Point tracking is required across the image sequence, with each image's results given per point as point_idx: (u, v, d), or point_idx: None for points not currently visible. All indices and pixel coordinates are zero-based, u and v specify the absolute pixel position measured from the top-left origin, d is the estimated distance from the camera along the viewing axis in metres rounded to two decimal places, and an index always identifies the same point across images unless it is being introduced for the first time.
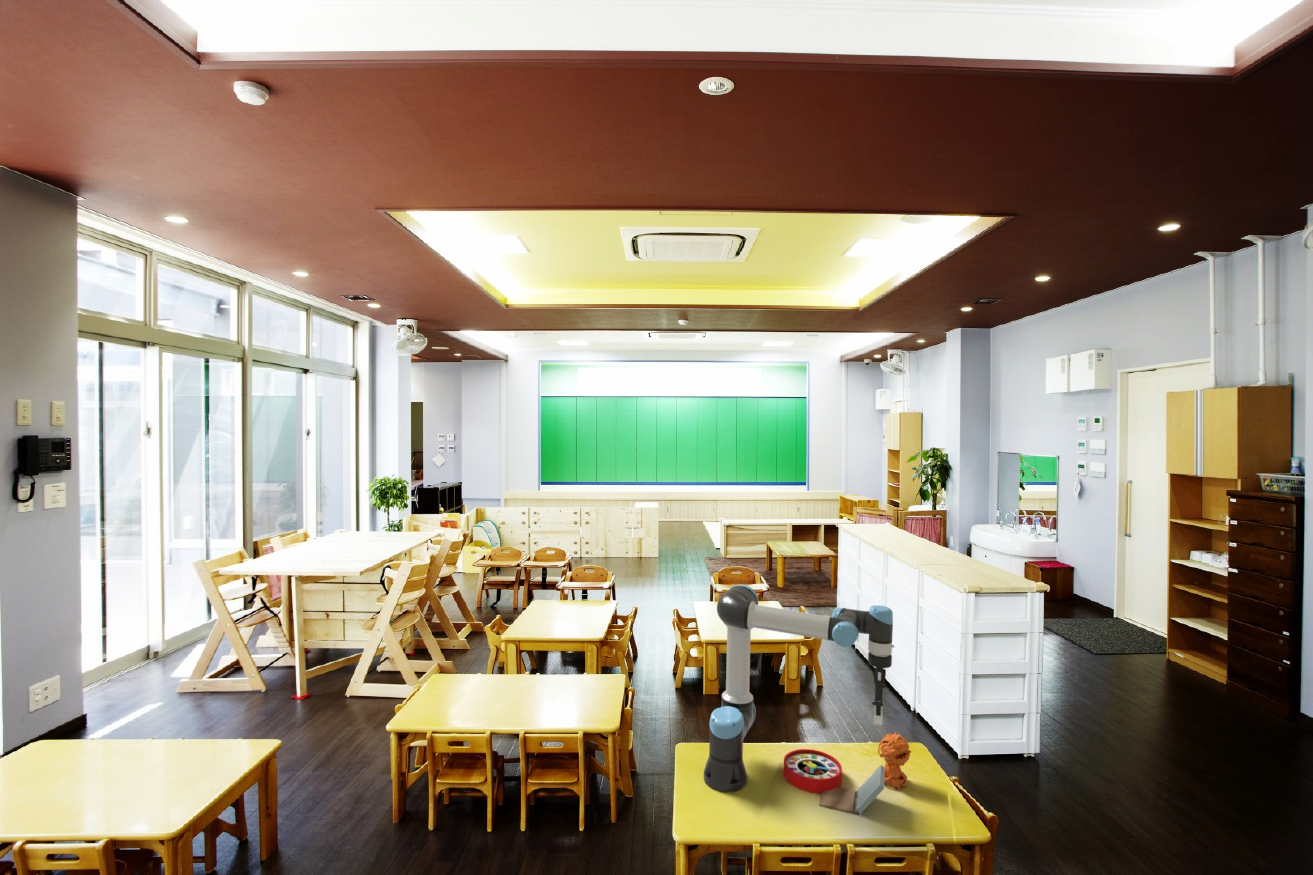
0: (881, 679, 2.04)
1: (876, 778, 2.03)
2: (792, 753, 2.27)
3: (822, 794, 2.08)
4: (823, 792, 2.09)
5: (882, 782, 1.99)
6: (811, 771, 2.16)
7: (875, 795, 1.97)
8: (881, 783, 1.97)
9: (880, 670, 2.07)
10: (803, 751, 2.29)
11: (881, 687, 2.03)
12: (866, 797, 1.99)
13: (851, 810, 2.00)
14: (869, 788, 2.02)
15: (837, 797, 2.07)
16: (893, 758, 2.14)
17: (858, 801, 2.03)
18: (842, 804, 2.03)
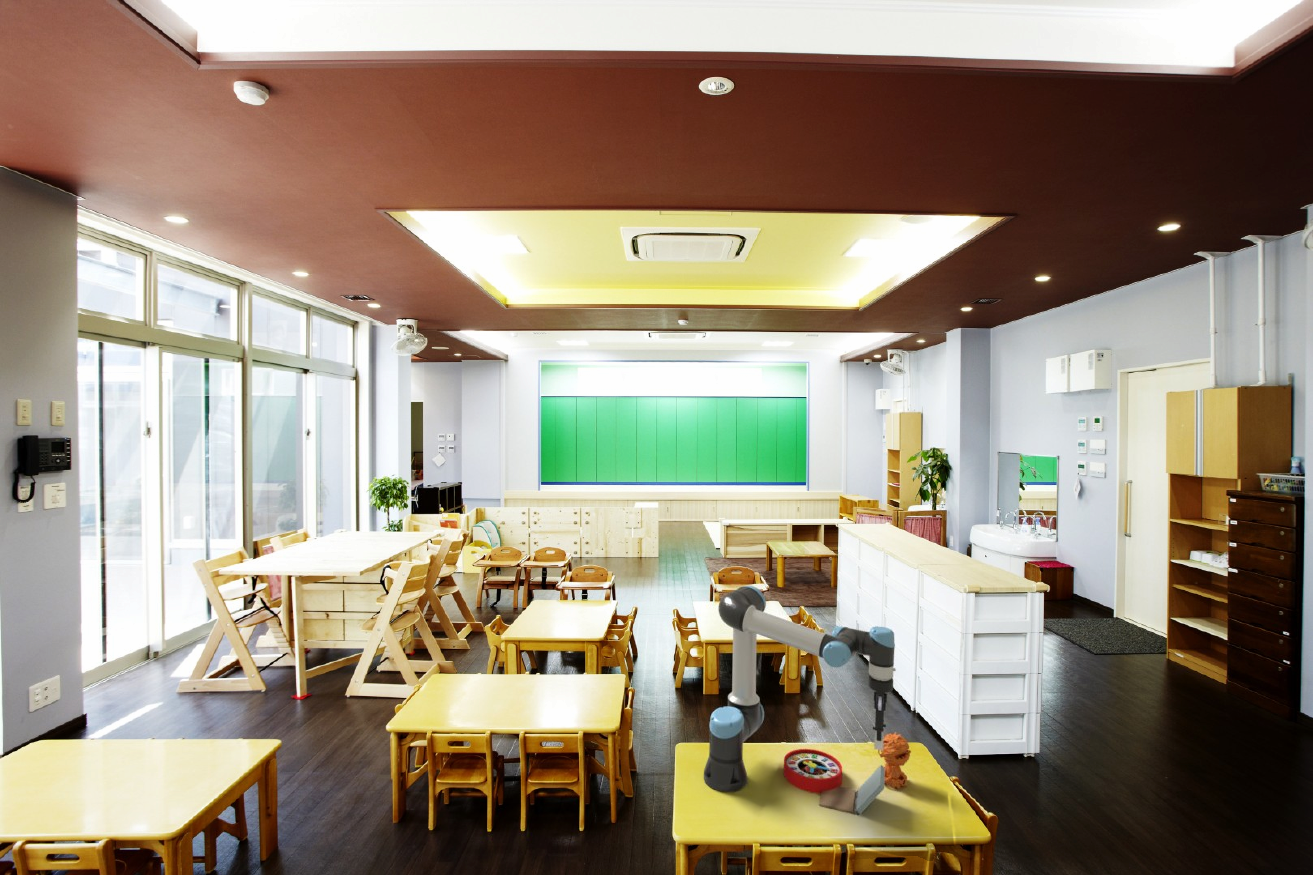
0: (881, 710, 1.96)
1: (876, 778, 2.03)
2: (792, 753, 2.27)
3: (822, 794, 2.08)
4: (823, 792, 2.09)
5: (882, 782, 1.99)
6: (811, 771, 2.17)
7: (875, 795, 1.97)
8: (881, 783, 1.97)
9: (881, 695, 1.98)
10: (803, 751, 2.29)
11: (881, 716, 1.97)
12: (866, 797, 1.99)
13: (851, 810, 2.00)
14: (869, 788, 2.02)
15: (837, 797, 2.07)
16: (893, 758, 2.14)
17: (858, 801, 2.03)
18: (842, 804, 2.03)
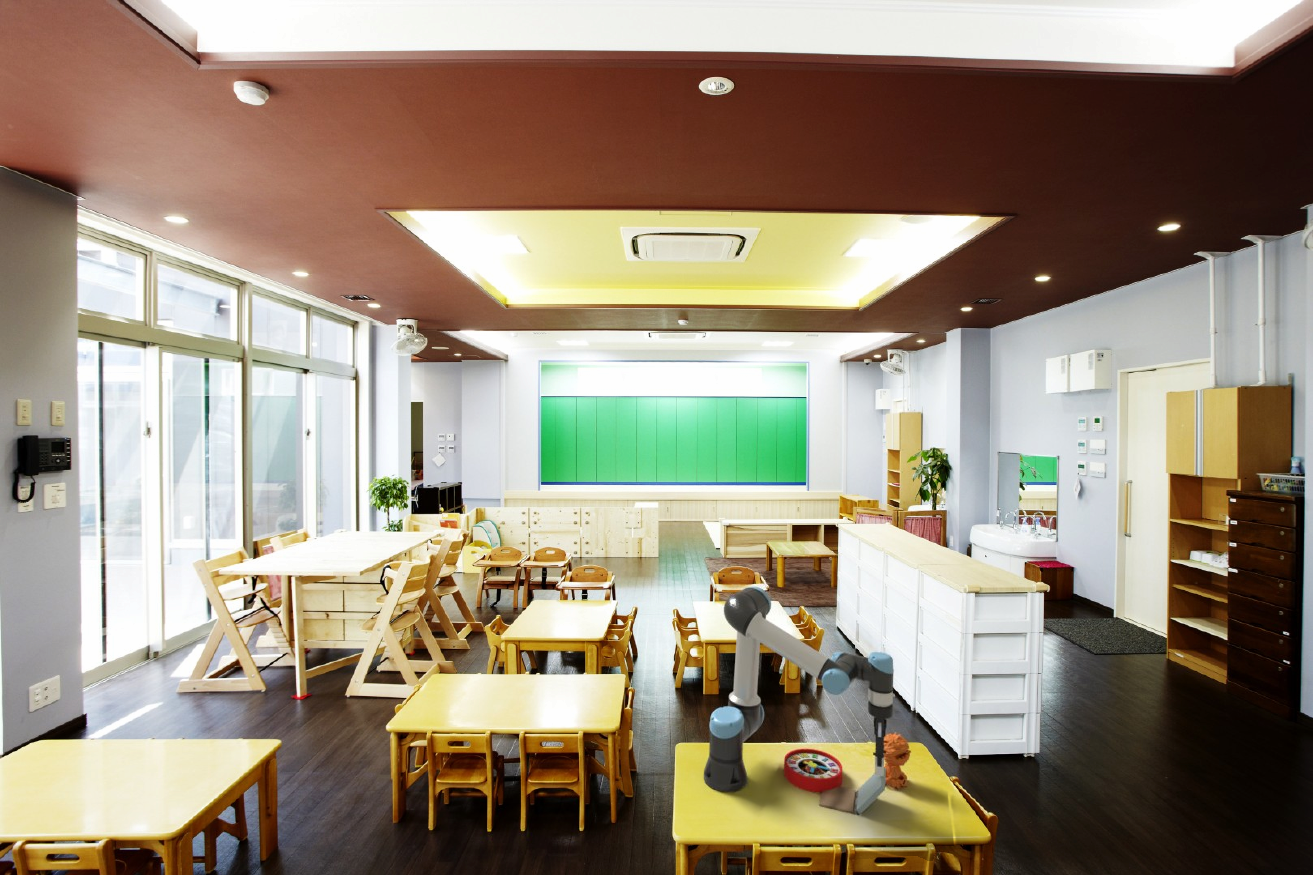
0: (881, 737, 1.97)
1: (877, 779, 2.03)
2: (792, 753, 2.28)
3: (822, 794, 2.08)
4: (823, 792, 2.09)
5: (883, 782, 1.99)
6: (811, 770, 2.17)
7: (876, 796, 1.97)
8: (882, 784, 1.97)
9: (880, 721, 1.98)
10: (804, 751, 2.29)
11: (882, 743, 1.97)
12: (867, 797, 1.99)
13: (851, 810, 2.00)
14: (870, 788, 2.02)
15: (837, 797, 2.07)
16: (893, 758, 2.14)
17: (858, 801, 2.03)
18: (842, 804, 2.03)
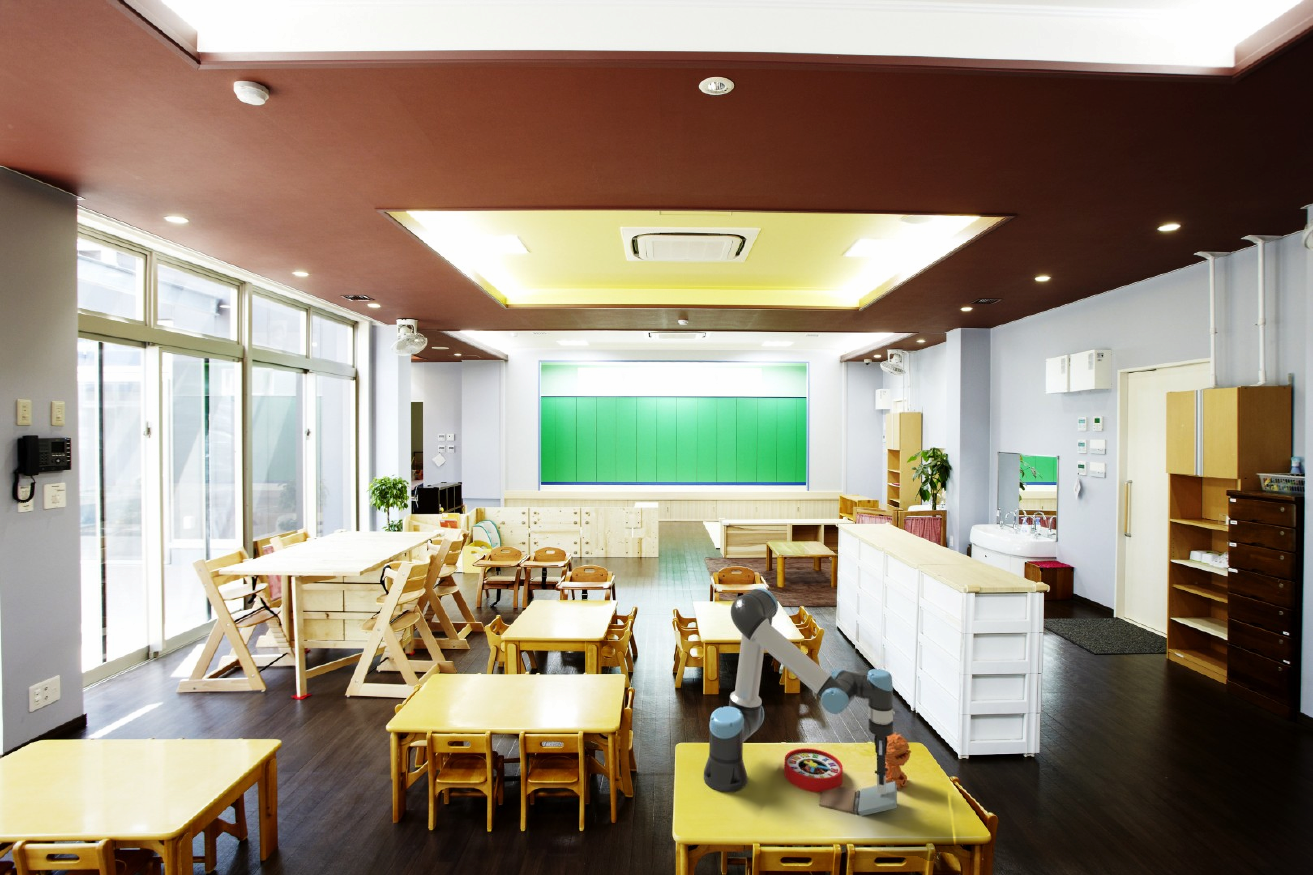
0: (882, 755, 1.96)
1: (888, 792, 2.02)
2: (793, 753, 2.28)
3: (822, 794, 2.08)
4: (823, 792, 2.09)
5: (895, 800, 1.97)
6: (812, 770, 2.17)
7: (884, 808, 1.96)
8: (895, 801, 1.96)
9: (881, 739, 1.98)
10: (804, 750, 2.30)
11: (883, 761, 1.97)
12: (873, 805, 1.98)
13: (851, 810, 2.00)
14: (877, 797, 2.01)
15: (837, 797, 2.07)
16: (893, 758, 2.14)
17: (861, 803, 2.02)
18: (842, 804, 2.03)
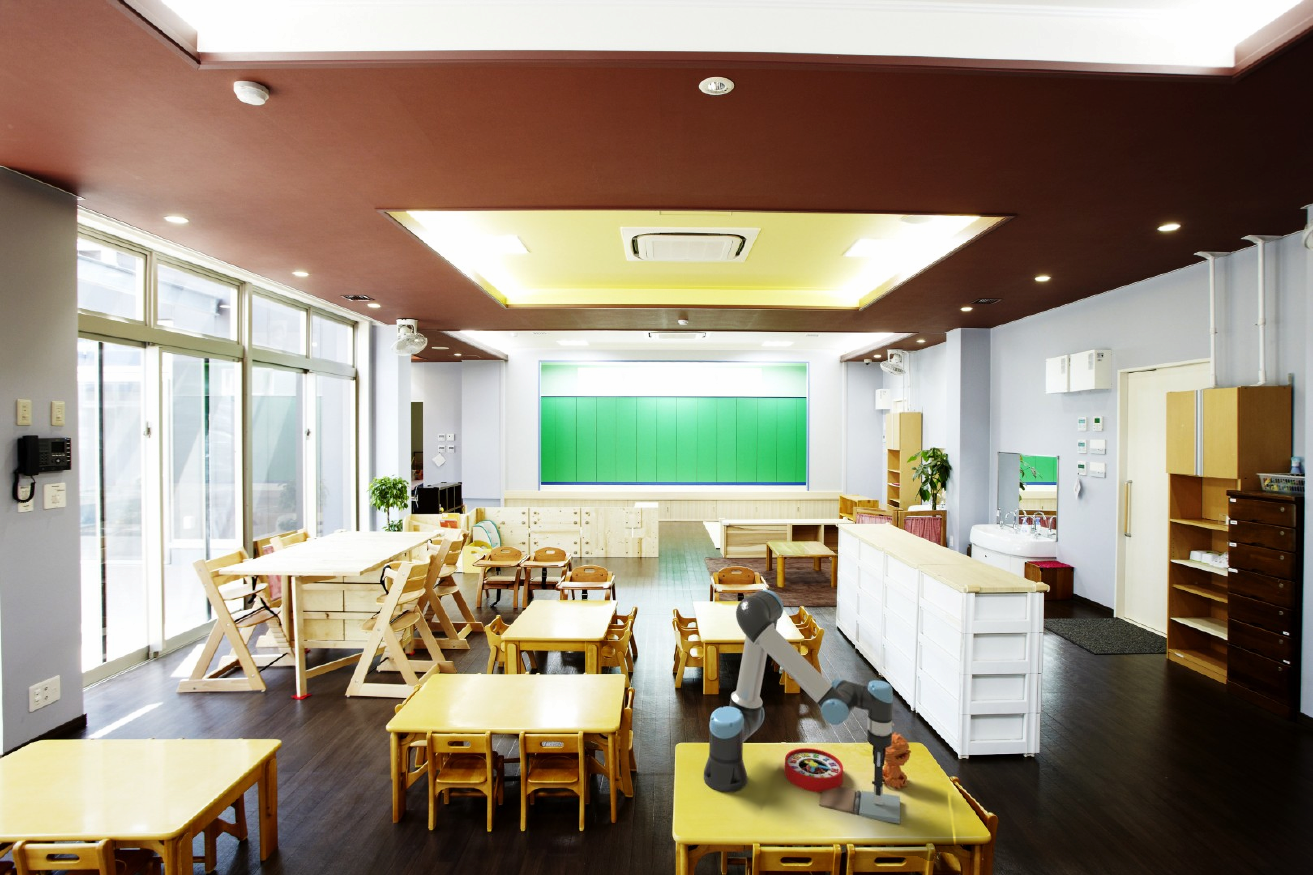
0: (880, 766, 1.97)
1: (892, 805, 2.01)
2: (793, 752, 2.28)
3: (822, 794, 2.08)
4: (823, 792, 2.09)
5: (899, 815, 1.97)
6: (812, 770, 2.17)
7: (887, 820, 1.96)
8: (899, 817, 1.96)
9: (879, 750, 1.99)
10: (805, 750, 2.30)
11: (880, 772, 1.98)
12: (876, 812, 1.98)
13: (851, 810, 2.00)
14: (880, 806, 2.01)
15: (837, 797, 2.07)
16: (893, 758, 2.14)
17: (862, 805, 2.02)
18: (842, 804, 2.03)
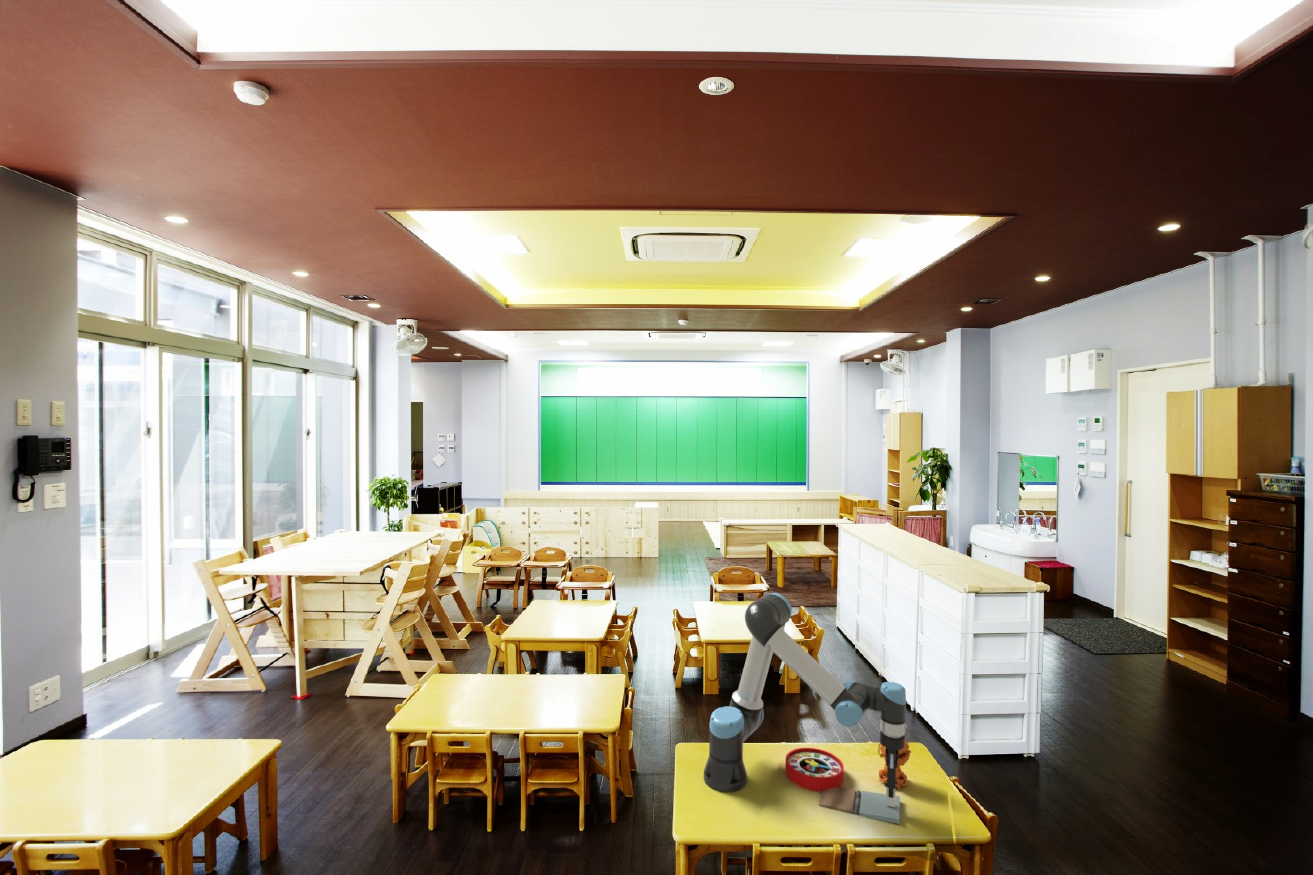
0: (893, 768, 1.95)
1: None
2: (794, 752, 2.29)
3: (822, 794, 2.08)
4: (823, 792, 2.09)
5: (899, 815, 1.97)
6: (812, 769, 2.17)
7: (887, 820, 1.96)
8: (899, 817, 1.96)
9: (892, 752, 1.97)
10: (806, 750, 2.30)
11: (893, 774, 1.96)
12: (876, 812, 1.98)
13: (851, 810, 2.00)
14: (880, 806, 2.01)
15: (837, 797, 2.07)
16: None
17: (862, 805, 2.02)
18: (842, 804, 2.03)
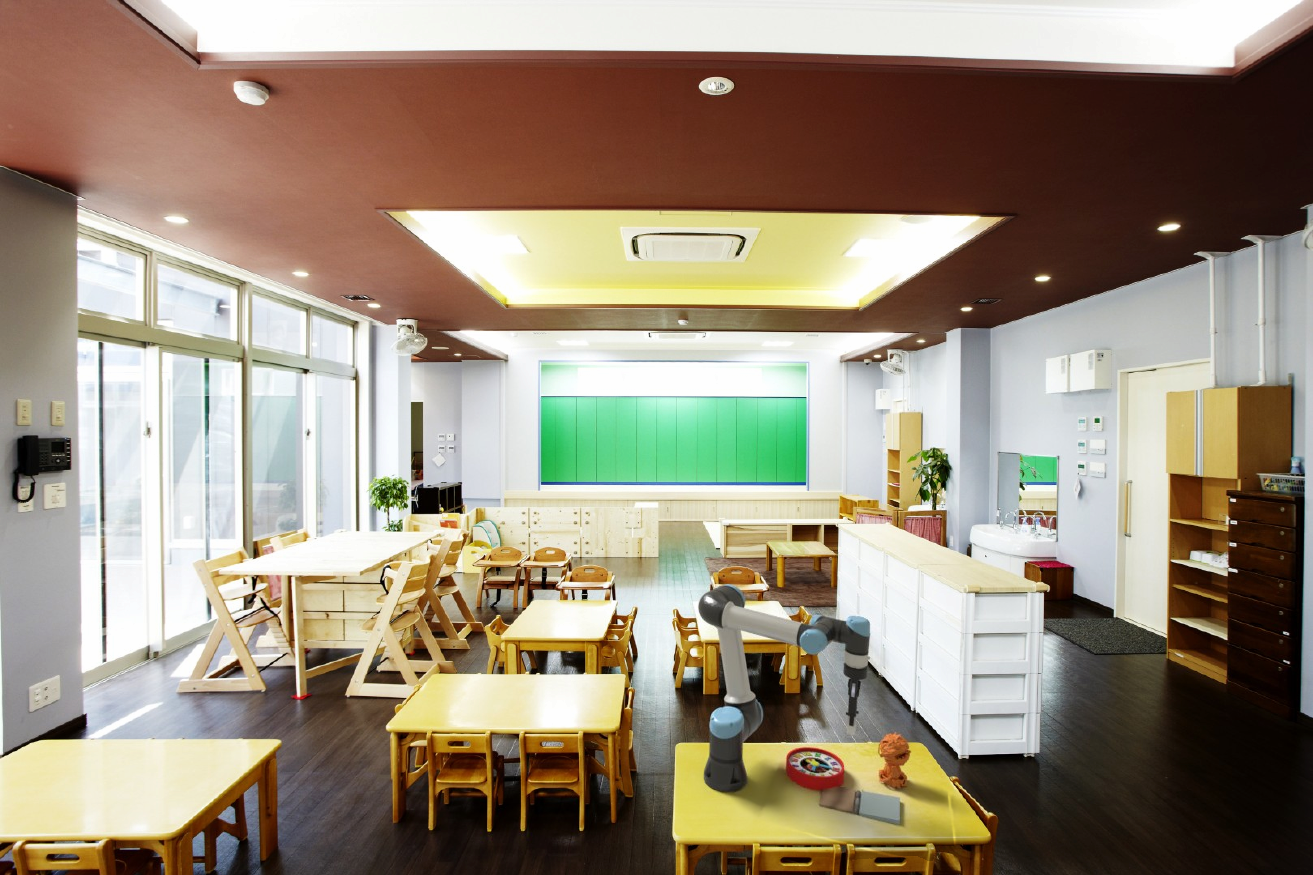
0: (854, 697, 2.02)
1: (892, 806, 2.01)
2: (795, 751, 2.29)
3: (822, 794, 2.08)
4: (823, 792, 2.09)
5: (899, 817, 1.97)
6: (813, 769, 2.18)
7: (887, 821, 1.96)
8: (899, 818, 1.96)
9: (854, 682, 2.04)
10: (807, 749, 2.31)
11: (854, 703, 2.03)
12: (876, 813, 1.98)
13: (851, 810, 2.00)
14: (881, 807, 2.01)
15: (837, 797, 2.07)
16: (893, 758, 2.14)
17: (862, 805, 2.02)
18: (842, 804, 2.03)
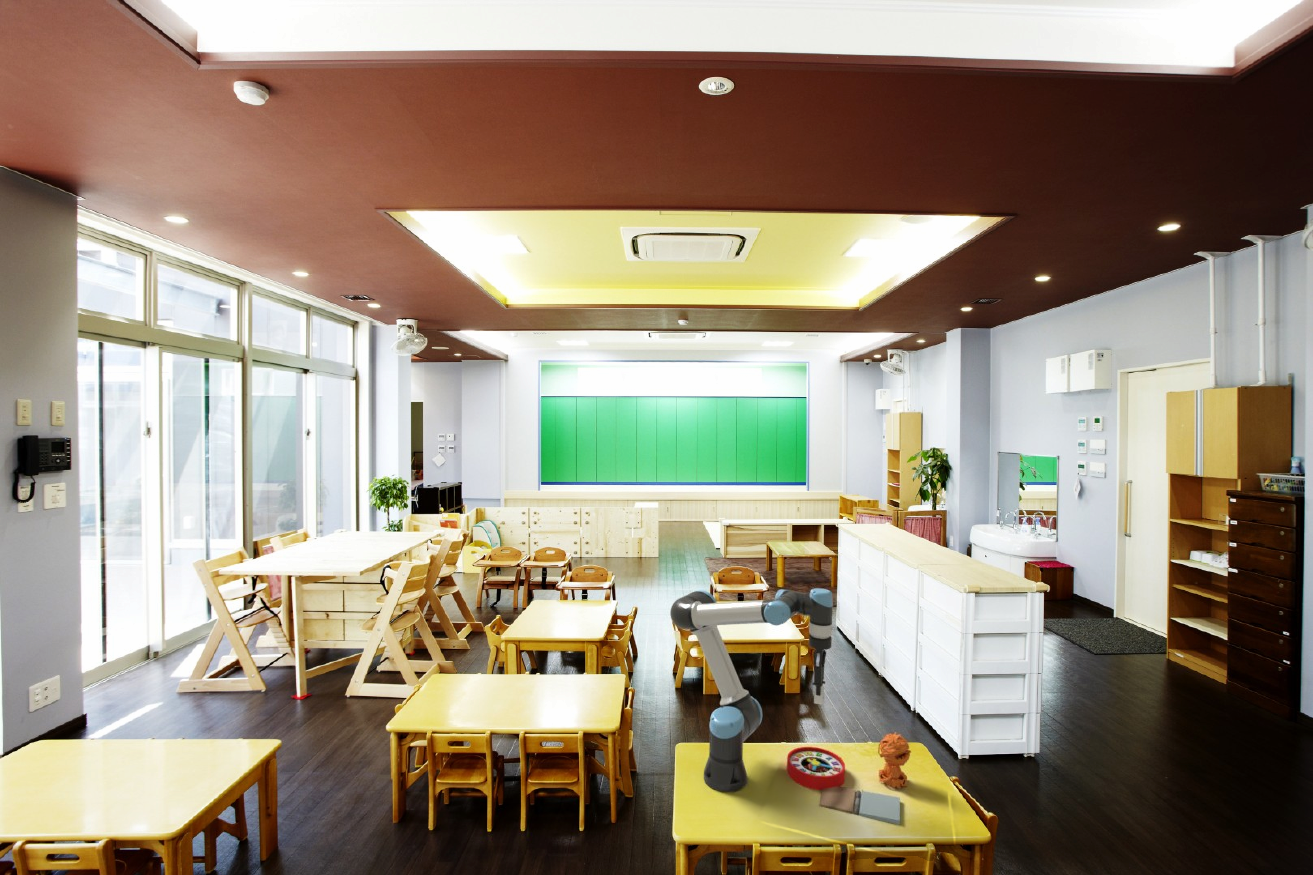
0: (819, 666, 2.08)
1: (892, 806, 2.01)
2: (796, 750, 2.29)
3: (822, 794, 2.08)
4: (823, 792, 2.09)
5: (899, 817, 1.97)
6: (813, 768, 2.18)
7: (887, 821, 1.96)
8: (899, 818, 1.96)
9: (819, 652, 2.10)
10: (808, 749, 2.31)
11: (819, 672, 2.09)
12: (876, 813, 1.98)
13: (851, 810, 2.00)
14: (881, 807, 2.01)
15: (837, 797, 2.07)
16: (893, 758, 2.14)
17: (862, 805, 2.02)
18: (842, 804, 2.03)
